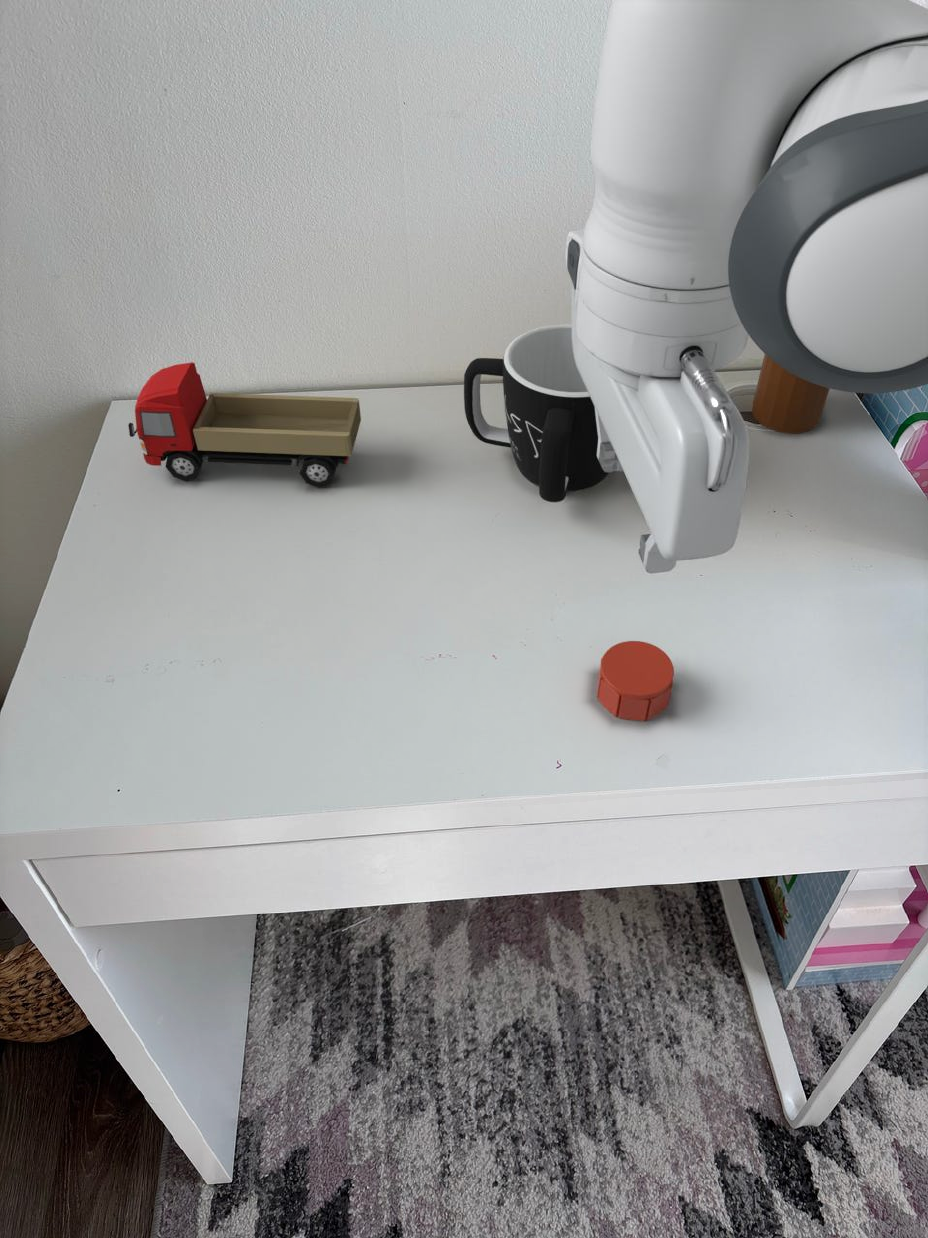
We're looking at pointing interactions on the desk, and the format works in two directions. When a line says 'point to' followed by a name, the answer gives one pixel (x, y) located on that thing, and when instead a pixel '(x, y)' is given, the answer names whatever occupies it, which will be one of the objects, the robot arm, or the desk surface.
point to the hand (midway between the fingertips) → (632, 512)
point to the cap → (635, 680)
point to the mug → (541, 412)
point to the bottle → (787, 400)
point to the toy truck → (241, 427)
